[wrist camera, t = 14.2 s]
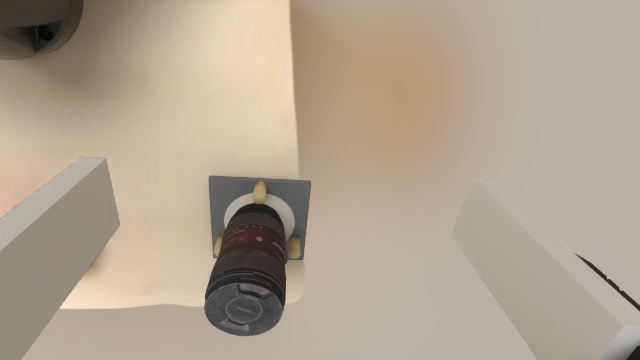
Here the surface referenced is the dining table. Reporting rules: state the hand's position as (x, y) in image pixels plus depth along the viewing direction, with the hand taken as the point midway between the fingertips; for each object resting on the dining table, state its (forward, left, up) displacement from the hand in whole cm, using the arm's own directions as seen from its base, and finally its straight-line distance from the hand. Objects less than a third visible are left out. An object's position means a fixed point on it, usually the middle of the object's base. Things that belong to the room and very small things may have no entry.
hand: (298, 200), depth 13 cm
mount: (-3, -21, -29) cm, 36 cm away
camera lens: (-3, -21, -28) cm, 35 cm away
